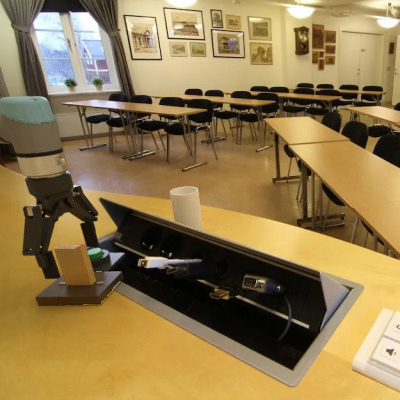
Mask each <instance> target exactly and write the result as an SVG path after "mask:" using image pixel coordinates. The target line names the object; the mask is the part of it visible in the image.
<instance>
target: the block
mask: <svg viewBox="0 0 400 400" xmlns="http://www.w3.org/2000/svg"><path fill="white" fill-rule="evenodd" d="M101 250H102V253H103V256H101V257H99V258H97V259H93V260H90V261H91V265H92V268H93V272H96V271H102V272H110V271H111V270H112V269H113V270H114V269H115V268H116V267H117V266H118V265H119V264H120V263H121V262H122V261H123V260H124V259H125V258H126V256H127V255H126V252H110V251H109V250H107V249H101ZM113 270H112V271H113ZM112 271H111V272H112Z"/></svg>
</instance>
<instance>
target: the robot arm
mask: <svg viewBox="0 0 400 400" xmlns="http://www.w3.org/2000/svg"><path fill="white" fill-rule="evenodd" d="M1 144H3V145H4V144H7V145H12V147H13V150H14V152H15V156H16V159H17V162H18V165H19V167H20V171H21V174H22V175H23V176H24V177H25V179H24V182H25V185H26V187H27V191H28V193H29V195H30V196H33V197H34V198H35V204H33V205H24V206H23V207H22V212H23V216H24V224H23V237H22V238H23V239H22V251H21V254H22V256H24V257H32V256H33V257H35V260H36V263H37V266H38V267H39V269H41V271H42V275H43V276H44V280H57V279H59V278H60V277H61V276H62V275H61V273H60V270H59V267H58V264H57V261H56V258H55V255H54V252H53V250H49V248H50V244H51V242H52V241H51V240H52V237H53V232H54V229H55V225H56V223H57V222H58V221H59V220H60V218H61V217H62V216H63V215H65V214H67V213H69V214H71V215H72V216H73V217H75V218H76V219H78V220H80V221H81V223H79V226H80V229H81V233H82V236H83V239H84V242H85V245H86V248H99V247H100V241H99V239H98V235H97V229H96V226H95V222H98V220H99V218H98V216H99V212H98V210H97V209H96V207H95V206H94V205H93V204H92V202H91V201H90V200H89V198H88V197H87V196H86V195H85V193H84V190H83V188H82V185H74V181H73V178H72V175H71V172H69V171H68V170H69V165H68V162H67V158H66V155H65V152H64V147H63V144H62V140H61V135H60V132H59V127H58V125H57V121H56V116H55V114H54V113H53V110H52V107H51V105H50V101H49V100H48V99H47V98H46V97H44V96H39V95H37V96H36V95H33V96H30V95H27V96H25V95H24V96H4V97H1V98H0V145H1Z"/></svg>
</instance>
